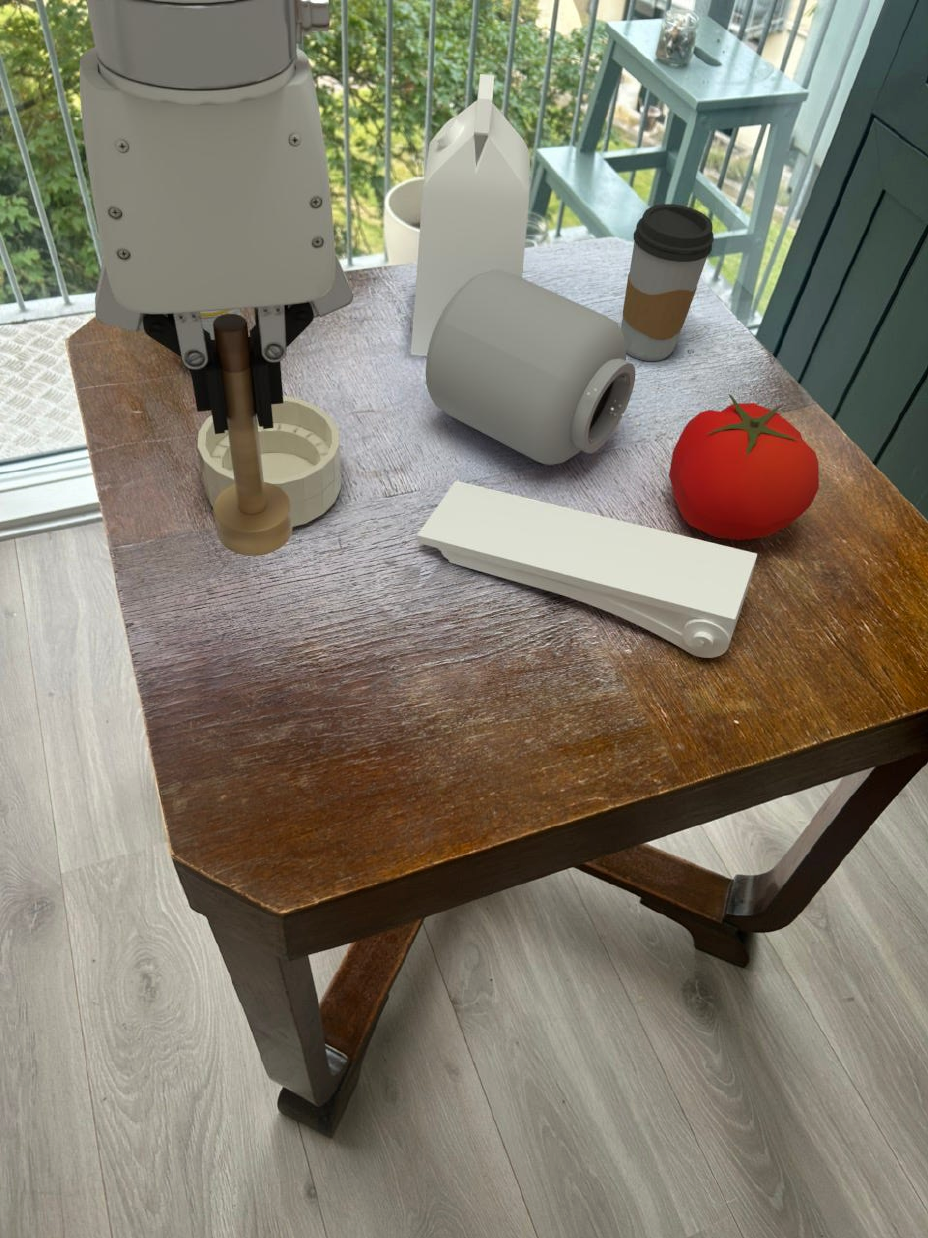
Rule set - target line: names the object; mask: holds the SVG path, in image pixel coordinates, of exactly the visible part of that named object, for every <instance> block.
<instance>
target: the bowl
mask: <svg viewBox="0 0 928 1238" xmlns="http://www.w3.org/2000/svg"><path fill="white" fill-rule="evenodd" d="M271 406H272V416H273V428H269V429H263V427H259V423H258V418H257V423H258V433H259V442H260V452H261V461H262V470H263V480H264V482H268V483H271V484H274V485H276V486H278V487H279V488H281V489H282V490H283V491H284V492H285V493H286V494H287V496H288V497H289V500H290V504H291V516H292V528H295V527H297V526H302V525H306V524H308V523H310V522H312V521H313V520H315V519H317V518H319V517H321V516H322V515H324V514H325V513H326V512H327V511H328V510H329V509H330V508H331V507H332V506H333V505H334V504H335V503H336V501H337V498H338V497H339V494H340V493H341V489H342V474H341V473H342V471H341V470H342V469H341V442H340V441H341V440H340V430H339V427H338V426H337V423H336V422H335V420H334V418H333V417H332V416H331V415H330V414H329V413H327V412H326V411H324V409H322V408H321V407H319V406H318V405H316V404H313V403H311V402H309V401H306V400H304V399H302V398H297V397H293V396H286V395H283V403H282V404H272V405H271ZM256 414H257V413H256ZM196 448H197V451H198V457H199V464H200V470H201V475H202V481H203V487H204V492H205V496H206V497H207V499H208V502H209V504H210V506H211V507H212V508H213V509H214V503H215V500H216V498H217V497H218V495H219V494H220V493H221V492H222V491H224V490H225V489H226V488H228V487H230V486H232V485H234V484H235V480H234V473H233V466H232V458H231V451H230V444H229V436H228V430H225V433H221V434H215V430H214V424H213V418H212V414H211V415H209V416H208V417H207V418H206V419H205V420H204V422H203V424H202V425H201V427H200V429H199V431H198V433H197V445H196Z"/></svg>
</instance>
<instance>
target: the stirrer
mask: <svg viewBox="0 0 928 1238" xmlns="http://www.w3.org/2000/svg"><path fill="white" fill-rule="evenodd" d="M213 330H214V337H215V344H216V352H217V356H218V360H219V365H220V371H221V378H222V385H223V393H224V400H225V407H226V415H227V422H228V436H229V444H230V451H231V458H232V466H233V473H234V480H235V484H234V485H232V486H230V487H228V488H226V489H225V490H224V491H222V492H221V493H220V494H219V495H218V497H217V498H216V500H215V503H214V508H213V516H214V521H215V529H216V535H217V538H218V540H219V542H220V543H221V544H222V546H224V547H225V548H226V549H227V550H228V551H230V552H232V553H234V554H237V555H242V556H248V557H256V556H265V555H268V554H270V553H273V552H276V551H279V550H280V549H281V548H282V547H284V546H285V545H286V544H287V543H288V541H289V540H290V539H291V536H292V533H293V527H292V516H291V504H290V500H289V497H288V496H287V494H286V493H285V492H284V491H283V490H282V489H281V488H279V487H278V486H276V485H274V484H271V483H268V482H264V480H263V470H262V461H261V452H260V442H259V433H258V423H257V414H256V405H255V395H254V386H253V377H252V367H251V357H250V345H249V337H250V334H249V327H248V321H247V319H246V318H245V317H243V316H242V315H241V316H240V315H237V314H224V315H221V316H219V317H217V318H216V319H215V320H214V322H213Z"/></svg>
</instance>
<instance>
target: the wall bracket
mask: <svg viewBox="0 0 928 1238" xmlns="http://www.w3.org/2000/svg"><path fill="white" fill-rule="evenodd" d="M416 540H417V544H420V545H424V546H428V547H432V548H436V549H438V551H439V552H441V554H442V556H443V558H445V559H447V560H448V563H451V564H454V565H457V566H461V567H464V568H468V569H471V570H475V571H479V572H481V573H485V574H488V575H492V576H495V577H499V578H501V579H502V578H503V579H506V580H509V581H513V582H517V583H518V584H519V583H520V584H523V585H526V586H530V587H533V588H536V589H541V590H544V591H547V592H550V593H554V594H557V595H562V596H563V597H567V598H570V599H573V600H576V601H578V602H581V603H584V604H587V605H589V606H592V607H595V608H597V609H600V610H602V611H605V612H608V613H610V614H612V615H615V616H617V617H619V618H622V619H623V620H626V621H628V622H630V623H632V624H634V625H636V626H639V627H640V628H642V629H645V630H647V631H649V632H651V633H653V634H655V635H657V636H658V637H661V638H662V639H664V640H666V641H668V642H670V643H671V644H673V645H675V646H677V647H679V648H680V649H682V650H684V651H685V652H686V653H689V654H690V655H692V656H695V657H699V658H704V659H712V658H717V657H720V656H722V655H724V654H725V653H726V651H727V650H728V649H729V647H730V644H731V641H732V638H733V634H734V632H735V629H736V627H737V623H738V620H739V617H740V614H741V611H742V608H743V605H744V601H745V600H746V596H747V594H748V590H749V589H750V585H751V582H752V580H753V579H752V578H753V573H754V570H755V569H754V568H755V565H756V561H757V557H758V553H757V552H752V551H747V550H744V549H740V548H736V547H731V546H727V545H723V544H719V543H715V542H710V541H706V540H702V539H698V538H694V537H689V536H686V535H682V534H679V533H674V532H669V531H665V530H662V529H657V528H652V527H648V526H644V525H640V524H636V523H632V522H628V521H624V520H619V519H616V518H612V517H608V516H602V515H598V514H595V513H591V512H588V511H587V512H586V511H583V510H578V509H575V508H570V507H566V506H563V505H562V506H561V505H558V504H553V503H549V502H545V501H541V500H537V499H533V498H530V497H525V496H521V495H517V494H513V493H508V492H504V491H500V490H496V489H492V488H487V487H483V486H479V485H475V484H471V483H466V482H462V481H459V480H455V481H454V482H453V484H452V485H451V486H450V487H449V489H448V490H447V492H446V493H445V495H444V496H443V497H442V499H441V501H439V503H438V505H437V506H436V508H435V509H434V510H433V512H432V513H431V515H430V516H429V517H428V519H427V520H426V521H425V523H424V525H423V526H422V528H421V529H420V530H419V531H418V532H417V535H416Z"/></svg>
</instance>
